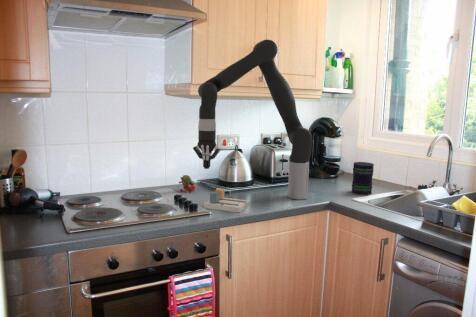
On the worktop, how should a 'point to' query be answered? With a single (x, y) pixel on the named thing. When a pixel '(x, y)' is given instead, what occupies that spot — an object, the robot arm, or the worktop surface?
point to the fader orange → (220, 193)
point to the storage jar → (362, 178)
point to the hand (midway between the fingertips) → (206, 168)
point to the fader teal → (214, 197)
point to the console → (228, 204)
